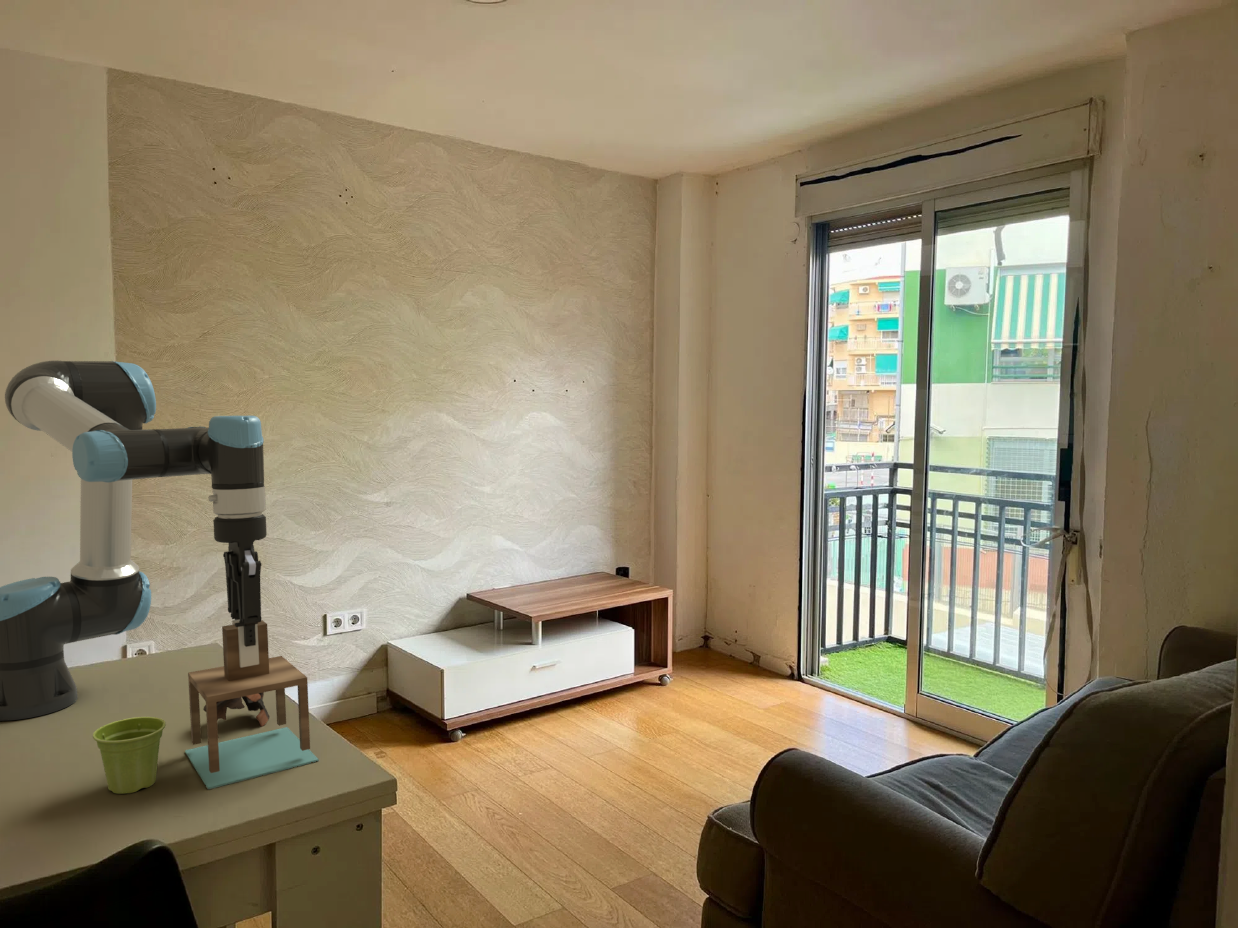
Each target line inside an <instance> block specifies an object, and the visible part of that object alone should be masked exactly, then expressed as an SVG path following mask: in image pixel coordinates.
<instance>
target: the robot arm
mask: <svg viewBox="0 0 1238 928" xmlns="http://www.w3.org/2000/svg"><path fill="white" fill-rule="evenodd" d="M4 403H5V406H6V408H7V409H6V410H7V411H8V412H9V415H10V416H12V417H13V419H14V420H16V421H17V422H18V423H20V424H21V425H23V426H24V427H25V428H27V429H31V430H33V431H40V432H43V433H45V434H46V435H48V436H49V437H50V438H52V439H53V440H54V441H56V442H57V443H59V444H60V445H61V446H63V447H64V448H65V449H68V451H70V452H71V456H72V465H73V467H74V470H76V472H77V476H78V477H79V478H80V507H79V508H80V512H79V513H80V514H79V515H80V520H79V521H80V522H79V524H80V526H79V527H80V528H79V531H80V532H79V535H80V536H79V562H78V563H76V564H75V565H73V566H72V567H71V569H70V581H66V582H64V581H63V582H61V581H60V579H59V578H58V577H57V576H41V577H36V578H35V577H32V578H27V579H24V580H23V579H22V580H18V581H15V582H14V581H13V582H11V583H8V584H5V585H2V586H0V722H1V721H15V720H17V721H18V720H24V719H31V718H35V717H40V716H44V715H47V714H51V713H54V712H55V713H56V712H58V711H60V710H63V709H65V708H67V707H70V706H71V705H73V704H74V703H76V702H77V701H78V688H77V684H76V682H75V680H74V678H73V676H72V674H71V672H70V670H69V668H68V665H67V663H66V662H65V654H64V653H65V651H64V645H67V644H71V643H77V642H81V641H86V640H92V639H96V638H102V637H107V636H112V635H120V634H122V633H124V632H128V631H132V630H136V629H138V628H139V627H140V626H141V625H142V624H144V623H145V621H146V619H147V618H148V616H149V613H150V609H151V605H152V590H151V588H150V587H151V586H150V585H151V584H150V580H149V578H148V576H147V574H145V573H144V572H143V571H140V565H138V564H137V563H136V562H135V561H134V560H132V524H133V523H132V515H133V514H132V513H133V512H132V511H133V481H134V480H142V479H145V480H146V479H154V478H167V477H168V478H169V477H182V476H183V477H185V476H196V475H210V477H211V491H212V494H210V495H208V501H209V502H212V508H213V509H212V512H213V513H214V514H215V515H217V516H216V517H214V519H213V539H214V540H215V542H218V543H220V544H221V543H222V544H228V547H227V548H228V549H227V550H228V551H224V552H223V554H222V555H223V561H224V566H225V582H226V583H225V584H226V593H227V594H226V595H227V612H228V613H229V614H230V618H231V623H232V624H231V625H234V624H235V627H238V641H239V662H240V667H247V666H252V665H258V664H259V649H258V627H257V624H258V622H261V620H262V604H261V603H262V600H261V599H262V598H261V593H262V591H261V572H262V571H261V570H262V562H261V560H259V554H258V551H257V550H255V545H254V542H256V541H260V540H264V539H265V538H266V537H267V534H268V533H267V516H266V515H265V514H263V512H266V509H267V506H266V505H267V504H266V486H265V465H264V462H265V461H264V458H265V457H264V441H265V440H264V437H263V431H262V430H263V429H262V421H261V420H260V418H259V417H258V416H256V415H214V416H211V418H210V419H209V421H208V427H206V426H201V425H200V426H189V427H183V428H182V427H180V428H155V429H154V428H153V429H149V428H148V429H143V425H145V424H148V423H150V422H151V421H153V419H154V418H155V414H156V411H157V399H156V393H155V389H154V386H153V383H152V380H151V379H150V377H149V375H148V373H147V372H146V371H145V369H144V368H143V367H141V366H139V365H138V364H135V363H131V362H124V361H123V362H122V361H113V360H111V361H109V360H106V361H105V360H99V361H98V360H95V361H93V360H90V361H89V360H84V361H83V360H67V361H66V360H45V361H41V362H37V363H33V364H30V365H28V366H26V367H25V368H22V369H21V370H20V371H19V372H17V373H16V374H15V375H13V377H12V378H11V380H9V382H8V384H7V386H6V388H5V392H4Z"/></svg>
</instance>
